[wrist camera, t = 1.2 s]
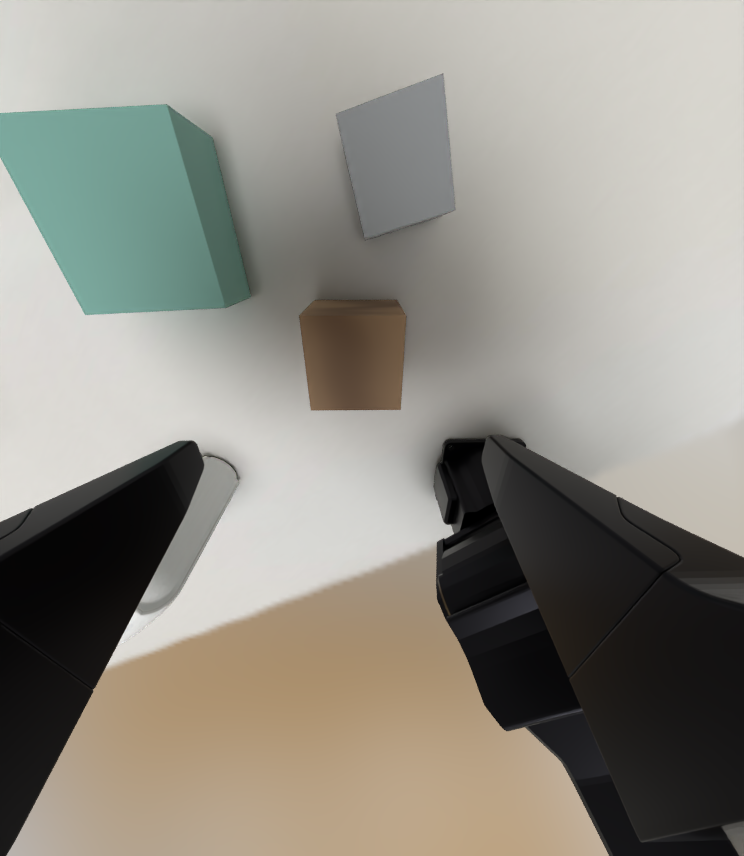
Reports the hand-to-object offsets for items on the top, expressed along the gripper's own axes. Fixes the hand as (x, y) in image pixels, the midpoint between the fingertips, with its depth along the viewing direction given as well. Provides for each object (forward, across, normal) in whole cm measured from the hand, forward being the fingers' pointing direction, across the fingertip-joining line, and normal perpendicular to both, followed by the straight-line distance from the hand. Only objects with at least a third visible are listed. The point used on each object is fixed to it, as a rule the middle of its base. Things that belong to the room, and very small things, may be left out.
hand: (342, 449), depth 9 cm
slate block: (+12, -2, -8) cm, 15 cm away
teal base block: (+12, +10, -6) cm, 17 cm away
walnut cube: (+12, 0, 0) cm, 12 cm away
